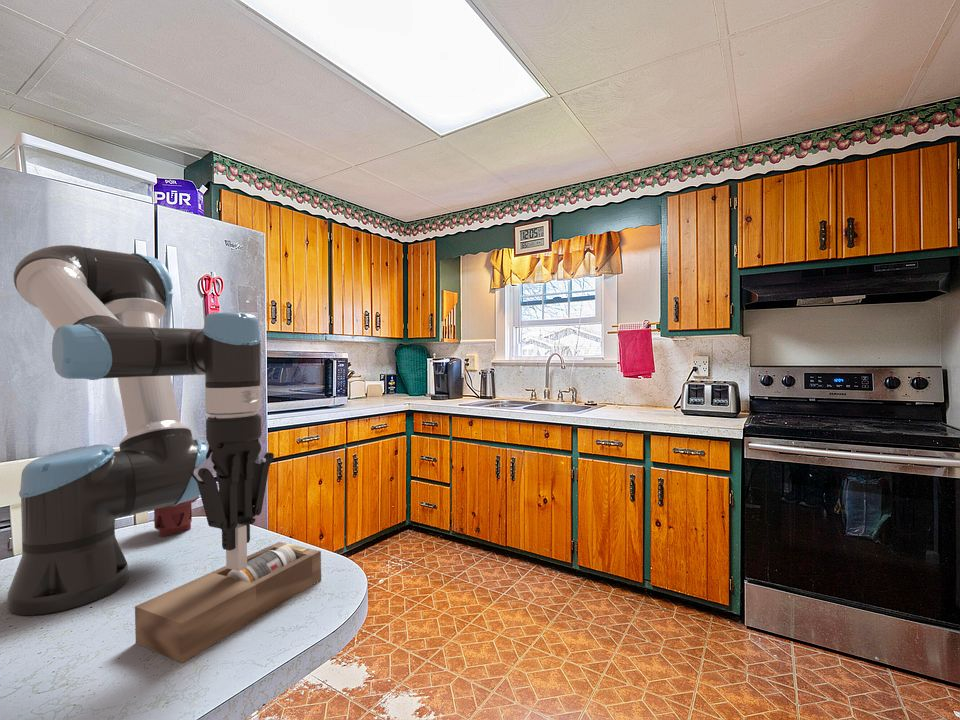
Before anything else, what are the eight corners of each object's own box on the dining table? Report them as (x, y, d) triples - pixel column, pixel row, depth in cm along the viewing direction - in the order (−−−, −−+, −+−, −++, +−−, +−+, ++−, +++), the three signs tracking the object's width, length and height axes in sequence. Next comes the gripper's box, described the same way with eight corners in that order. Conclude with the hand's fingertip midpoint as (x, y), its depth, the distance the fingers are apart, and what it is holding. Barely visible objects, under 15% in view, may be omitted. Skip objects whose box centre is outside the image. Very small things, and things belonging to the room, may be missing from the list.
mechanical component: (209, 524, 109) (173, 541, 99) (173, 522, 111) (134, 538, 101) (208, 471, 109) (172, 483, 99) (172, 470, 111) (133, 481, 101)
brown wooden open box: (135, 643, 64) (134, 604, 64) (279, 569, 86) (279, 540, 85) (182, 662, 60) (181, 622, 59) (321, 579, 81) (320, 549, 81)
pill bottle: (252, 604, 71) (304, 572, 80) (240, 567, 72) (292, 539, 80) (231, 609, 74) (283, 577, 83) (219, 573, 74) (272, 546, 83)
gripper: (211, 421, 65) (214, 592, 65) (285, 410, 76) (288, 554, 77) (175, 418, 68) (178, 581, 68) (252, 408, 79) (255, 547, 80)
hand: (236, 567), depth 72 cm, fingers closed
